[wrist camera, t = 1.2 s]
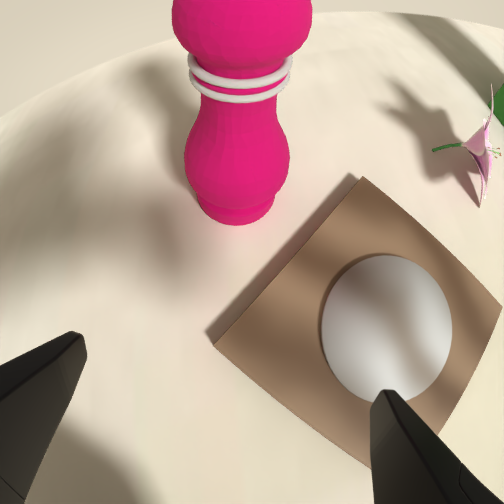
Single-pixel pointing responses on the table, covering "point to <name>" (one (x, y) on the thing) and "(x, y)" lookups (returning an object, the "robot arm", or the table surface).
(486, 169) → the lily
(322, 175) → the table surface
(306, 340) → the brown flat square slab
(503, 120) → the hardback book
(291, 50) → the pepper mill
